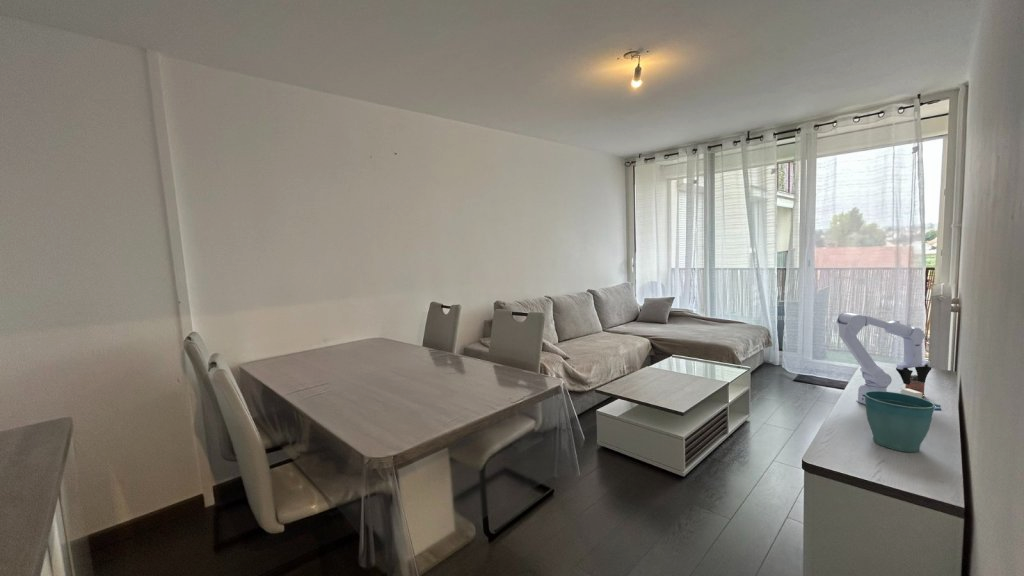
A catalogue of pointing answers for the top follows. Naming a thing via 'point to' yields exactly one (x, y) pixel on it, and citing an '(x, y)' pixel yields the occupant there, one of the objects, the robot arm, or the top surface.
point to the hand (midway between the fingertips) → (914, 383)
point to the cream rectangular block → (911, 392)
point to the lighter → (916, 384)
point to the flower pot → (898, 419)
